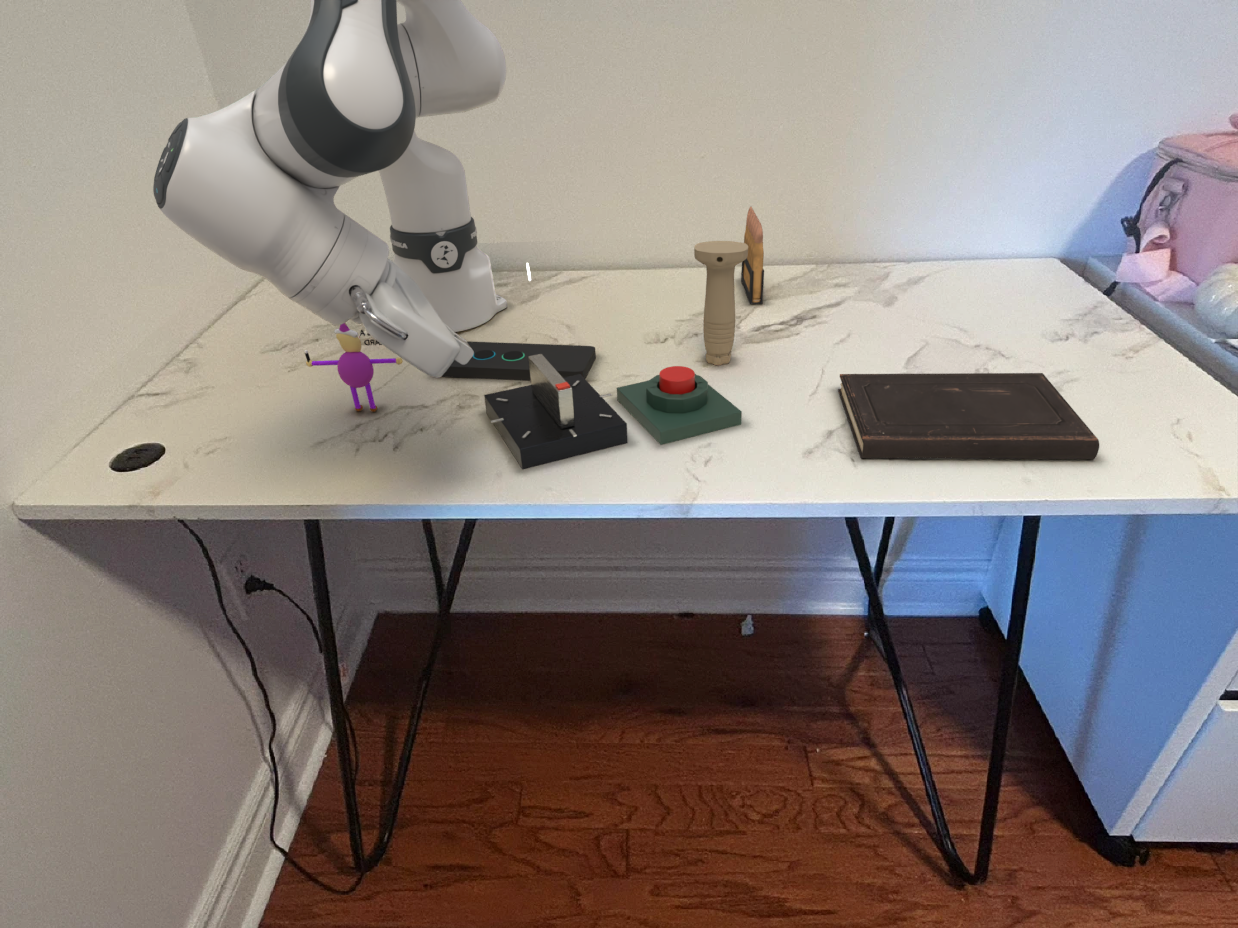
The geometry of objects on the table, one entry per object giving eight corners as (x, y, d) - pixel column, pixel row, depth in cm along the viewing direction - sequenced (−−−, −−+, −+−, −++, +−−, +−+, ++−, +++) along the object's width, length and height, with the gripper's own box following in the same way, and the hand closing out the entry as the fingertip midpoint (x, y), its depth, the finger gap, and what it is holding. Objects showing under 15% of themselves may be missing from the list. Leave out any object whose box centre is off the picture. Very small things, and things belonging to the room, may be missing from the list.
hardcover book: (837, 391, 98) (839, 373, 97) (1038, 390, 96) (1042, 372, 95) (861, 461, 85) (863, 441, 84) (1095, 462, 83) (1101, 442, 82)
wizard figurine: (414, 405, 100) (396, 311, 93) (408, 418, 97) (389, 321, 90) (323, 407, 100) (298, 314, 94) (314, 420, 97) (288, 324, 91)
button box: (617, 400, 99) (615, 373, 97) (691, 383, 102) (691, 356, 100) (660, 445, 89) (660, 417, 87) (741, 424, 92) (742, 396, 90)
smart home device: (452, 339, 112) (596, 344, 109) (454, 350, 113) (597, 356, 110) (429, 364, 105) (582, 371, 102) (431, 377, 106) (583, 384, 103)
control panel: (477, 415, 97) (474, 395, 95) (589, 390, 101) (588, 370, 100) (512, 473, 85) (510, 451, 84) (637, 441, 90) (636, 420, 89)
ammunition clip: (762, 304, 123) (767, 223, 117) (750, 304, 124) (754, 224, 117) (752, 280, 133) (756, 204, 126) (740, 280, 133) (744, 205, 126)
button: (653, 384, 95) (653, 370, 94) (684, 377, 96) (684, 363, 95) (669, 398, 92) (668, 383, 91) (700, 391, 93) (701, 376, 92)
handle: (742, 370, 104) (747, 253, 96) (691, 368, 105) (692, 252, 97) (744, 354, 108) (748, 241, 100) (695, 352, 109) (696, 240, 102)
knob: (531, 391, 96) (527, 354, 93) (544, 388, 96) (541, 351, 94) (561, 429, 88) (557, 389, 85) (575, 425, 88) (572, 385, 86)
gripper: (384, 278, 65) (517, 367, 73) (349, 219, 81) (460, 297, 89) (338, 342, 66) (474, 423, 74) (312, 270, 82) (426, 343, 90)
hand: (466, 353), depth 82 cm, fingers closed
